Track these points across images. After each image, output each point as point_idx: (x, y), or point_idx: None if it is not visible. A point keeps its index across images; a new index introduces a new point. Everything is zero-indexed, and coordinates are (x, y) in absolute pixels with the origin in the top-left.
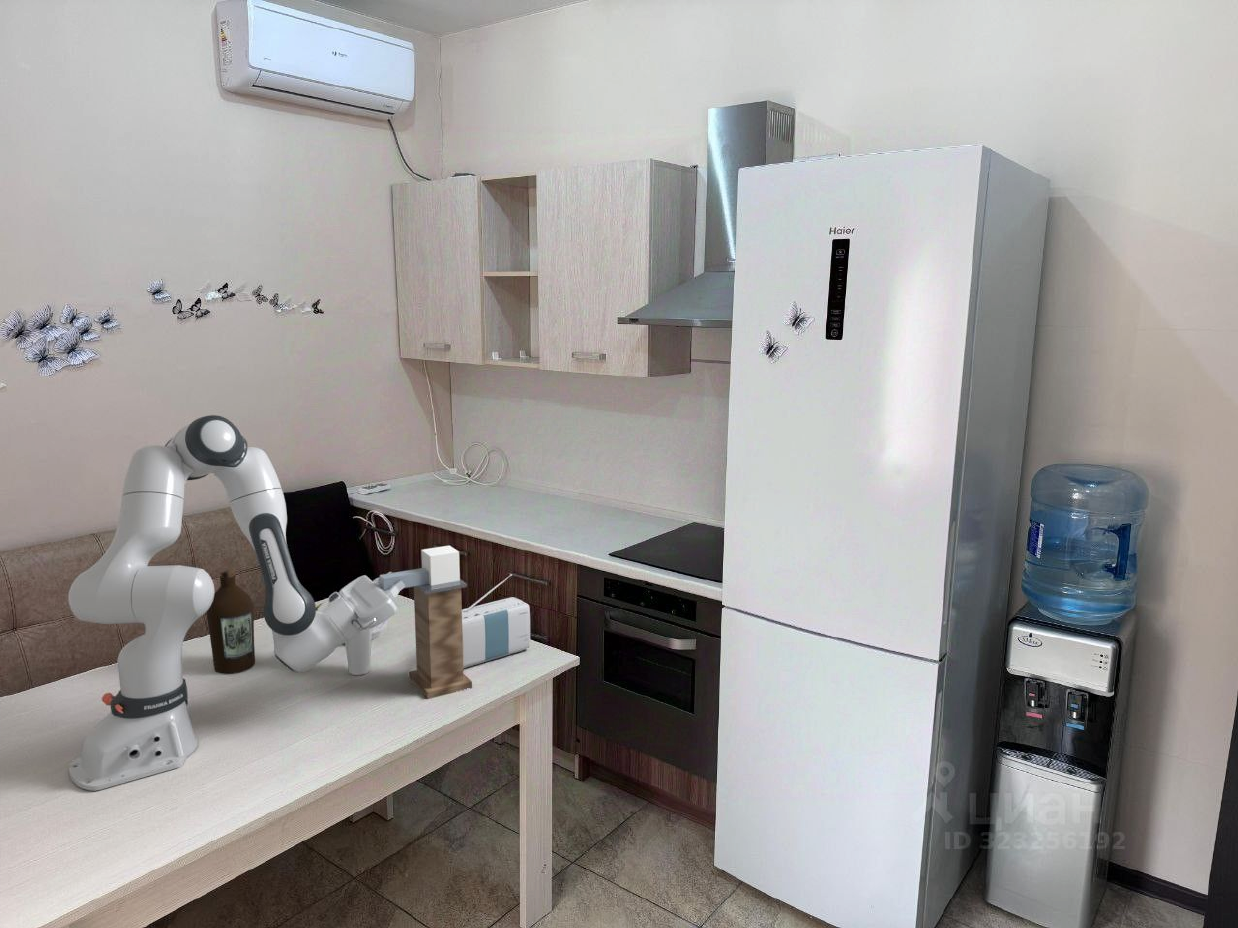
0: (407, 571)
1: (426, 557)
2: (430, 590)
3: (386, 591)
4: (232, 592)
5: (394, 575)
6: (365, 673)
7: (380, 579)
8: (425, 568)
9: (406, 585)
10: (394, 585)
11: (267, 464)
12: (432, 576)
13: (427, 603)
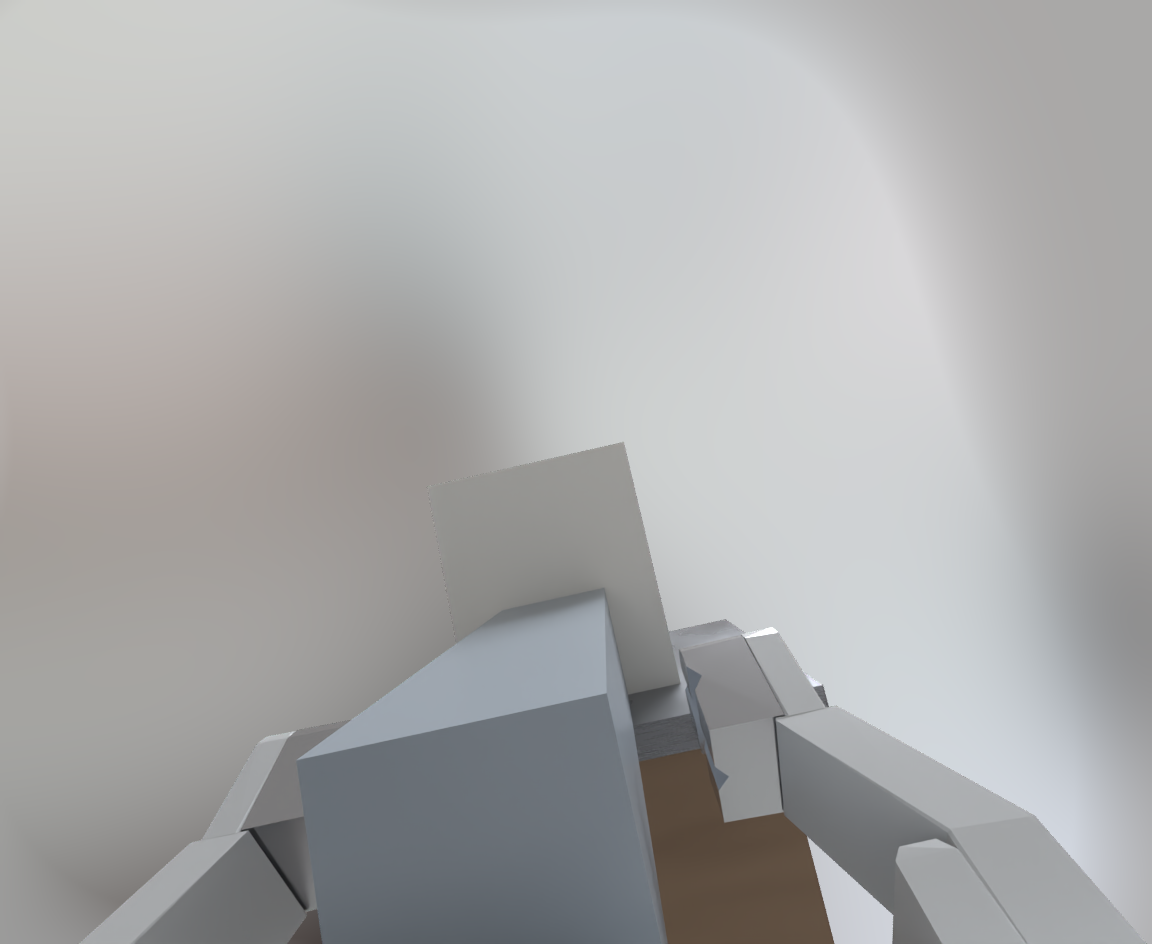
0: (497, 630)
1: (544, 493)
2: (806, 674)
3: (977, 907)
4: None
5: (536, 653)
6: None
7: (363, 851)
8: (535, 599)
9: (635, 752)
10: (815, 715)
11: None
12: (661, 606)
13: (776, 845)
